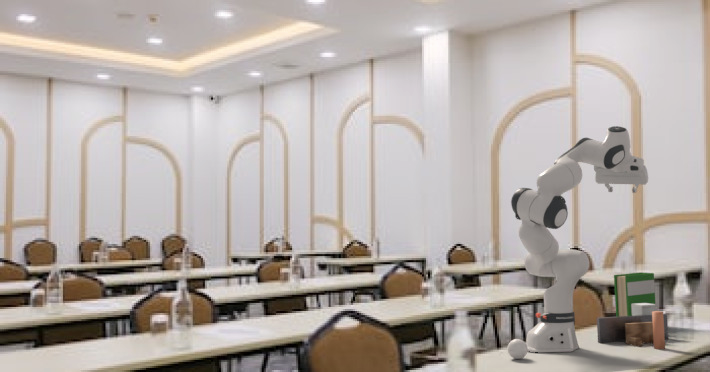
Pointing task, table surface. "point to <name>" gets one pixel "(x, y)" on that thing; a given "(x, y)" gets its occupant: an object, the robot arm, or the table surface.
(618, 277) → the hardback book
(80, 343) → the table surface
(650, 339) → the notch block
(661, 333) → the dowel
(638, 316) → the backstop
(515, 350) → the seamed sphere
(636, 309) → the supplement box
